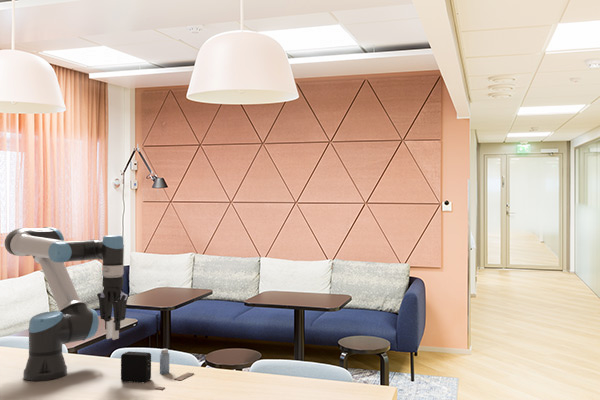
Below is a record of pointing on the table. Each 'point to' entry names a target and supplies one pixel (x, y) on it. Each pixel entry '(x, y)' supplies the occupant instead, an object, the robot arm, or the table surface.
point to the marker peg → (164, 361)
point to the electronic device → (135, 367)
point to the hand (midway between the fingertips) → (112, 338)
